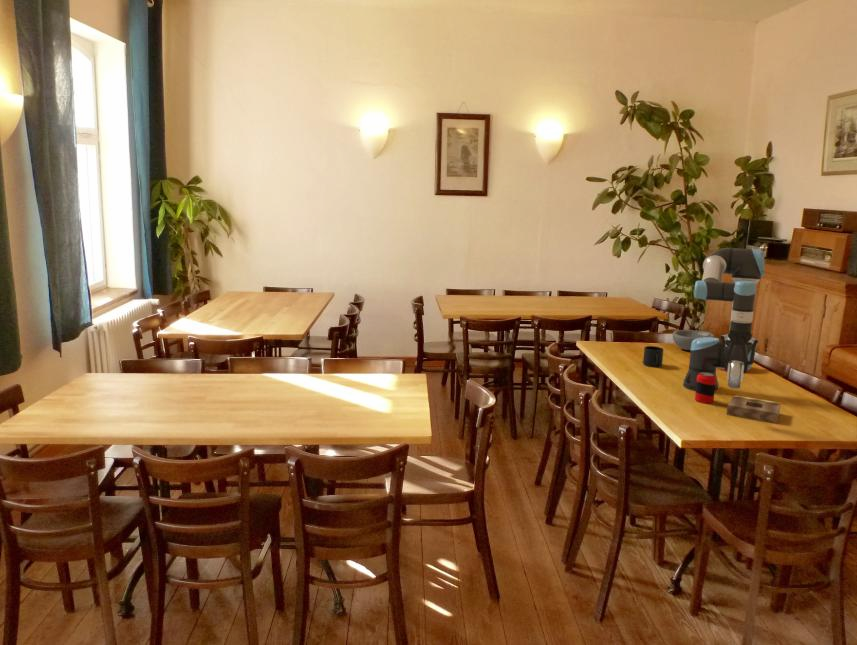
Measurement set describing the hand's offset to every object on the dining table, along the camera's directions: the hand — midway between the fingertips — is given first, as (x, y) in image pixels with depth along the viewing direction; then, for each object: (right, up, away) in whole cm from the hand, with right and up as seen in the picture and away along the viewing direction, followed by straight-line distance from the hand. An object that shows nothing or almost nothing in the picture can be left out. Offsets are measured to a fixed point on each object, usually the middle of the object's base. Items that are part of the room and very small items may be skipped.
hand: (734, 379), depth 258 cm
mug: (-3, 0, +84) cm, 84 cm away
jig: (+12, -15, +10) cm, 22 cm away
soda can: (-1, -12, +26) cm, 29 cm away
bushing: (0, -3, +1) cm, 3 cm away
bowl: (+32, +6, +122) cm, 126 cm away
